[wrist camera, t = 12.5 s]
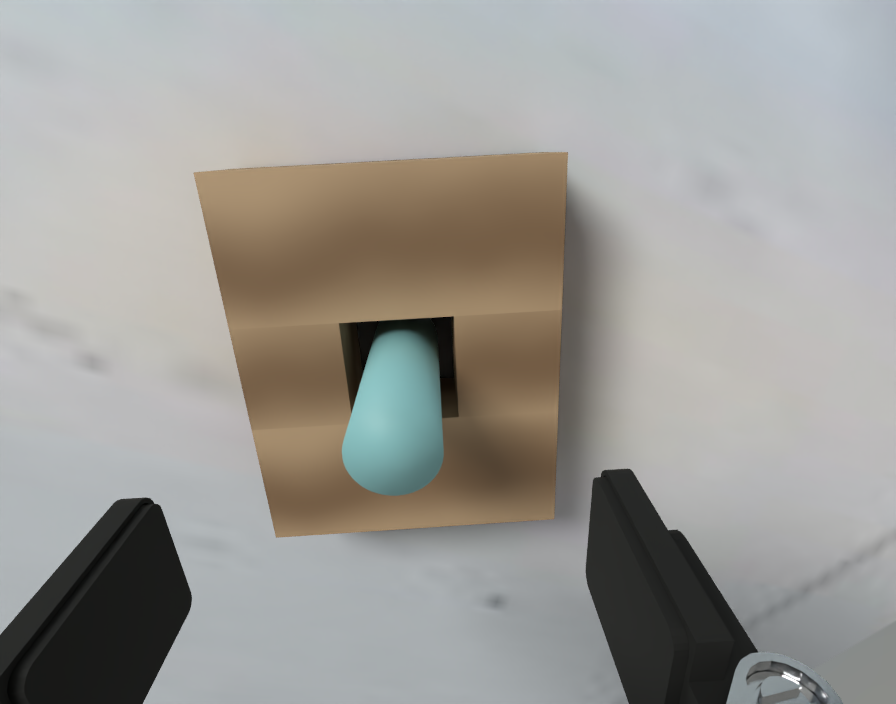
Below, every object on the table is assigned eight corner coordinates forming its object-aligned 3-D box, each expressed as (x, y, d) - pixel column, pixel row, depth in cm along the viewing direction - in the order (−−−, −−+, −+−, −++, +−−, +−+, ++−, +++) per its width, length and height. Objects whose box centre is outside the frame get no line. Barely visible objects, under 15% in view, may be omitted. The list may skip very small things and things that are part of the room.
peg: (372, 309, 23) (335, 412, 14) (435, 306, 24) (440, 405, 14) (378, 368, 25) (348, 498, 15) (439, 364, 25) (446, 492, 15)
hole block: (234, 168, 21) (193, 172, 17) (543, 152, 21) (567, 152, 17) (296, 484, 27) (275, 537, 23) (536, 468, 27) (554, 519, 23)
